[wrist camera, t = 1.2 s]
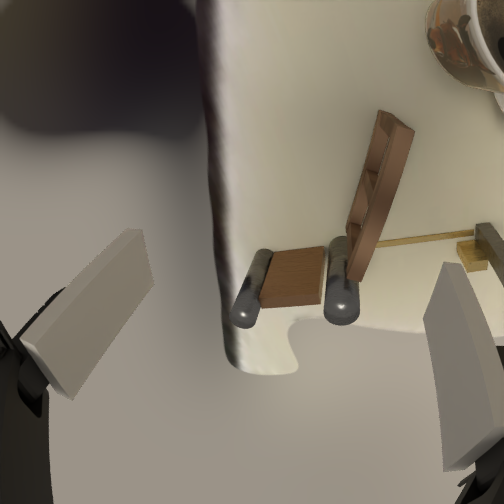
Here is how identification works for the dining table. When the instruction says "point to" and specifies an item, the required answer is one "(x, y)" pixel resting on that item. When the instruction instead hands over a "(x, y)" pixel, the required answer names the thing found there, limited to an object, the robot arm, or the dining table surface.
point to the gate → (376, 190)
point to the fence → (308, 280)
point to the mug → (469, 42)
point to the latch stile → (483, 251)
